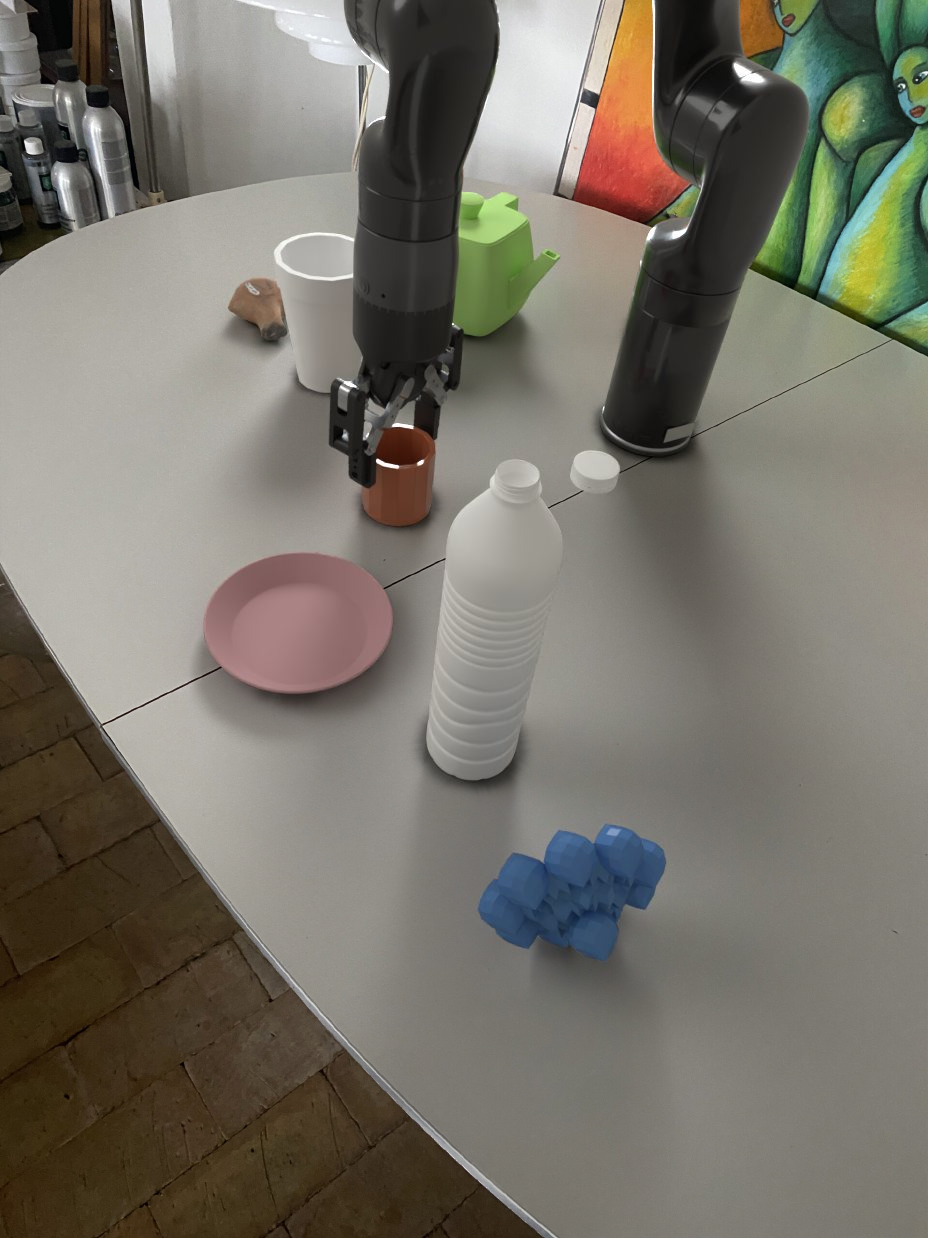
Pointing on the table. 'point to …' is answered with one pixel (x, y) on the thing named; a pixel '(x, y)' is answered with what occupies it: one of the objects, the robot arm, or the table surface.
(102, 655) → the table surface
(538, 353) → the table surface
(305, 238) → the foam cup
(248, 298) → the oil lamp
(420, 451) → the terracotta cup
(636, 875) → the grapes
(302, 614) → the plate
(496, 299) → the teapot
